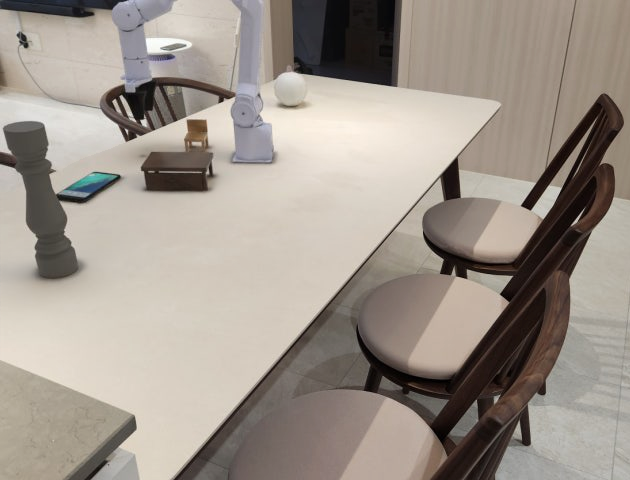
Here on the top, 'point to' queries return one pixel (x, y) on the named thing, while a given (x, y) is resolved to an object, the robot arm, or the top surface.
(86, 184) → the smartphone
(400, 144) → the top surface
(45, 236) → the candle holder
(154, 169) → the desk
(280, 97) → the ornament
